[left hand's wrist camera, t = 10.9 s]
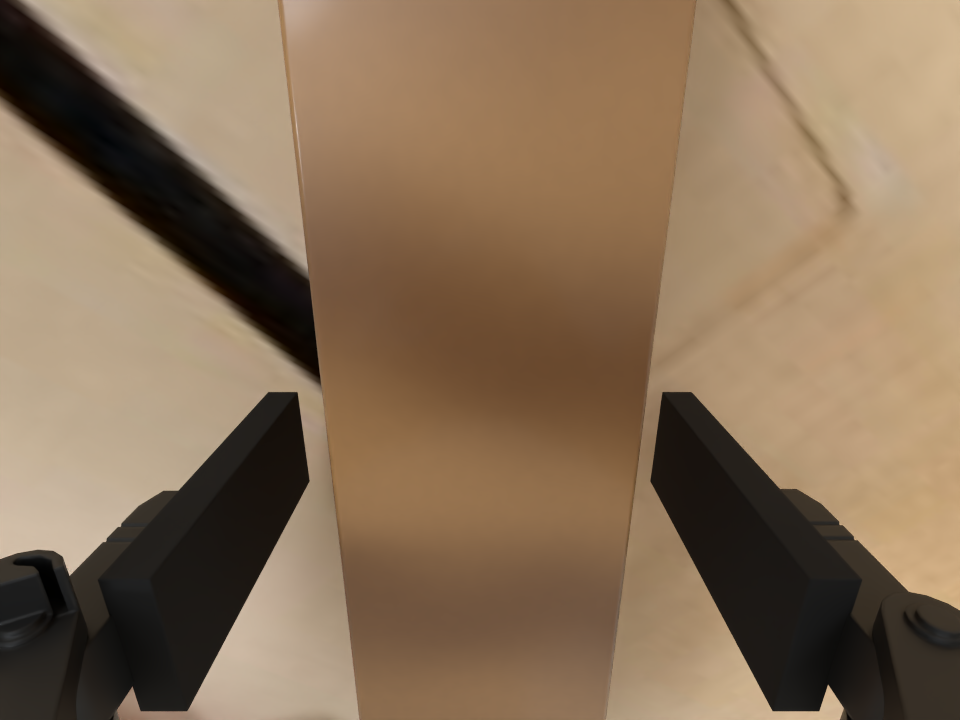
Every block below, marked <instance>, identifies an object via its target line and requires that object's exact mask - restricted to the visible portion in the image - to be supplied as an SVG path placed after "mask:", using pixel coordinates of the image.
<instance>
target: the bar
mask: <svg viewBox="0 0 960 720" xmlns="http://www.w3.org/2000/svg"><path fill="white" fill-rule="evenodd" d="M278 7H279V16H280V25H281V34H282V42H283V51H284V60H285V69H286V77H287V86H288V95H289V104H290V113H291V121H292V130H293V139H294V148H295V157H296V165H297V174H298V183H299V192H300V200H301V209H302V218H303V227H304V236H305V244H306V253H307V262H308V271H309V280H310V288H311V297H312V306H313V315H314V323H315V332H316V341H317V350H318V359H319V367H320V376H321V385H322V394H323V403H324V411H325V420H326V429H327V438H328V446H329V455H330V464H331V473H332V482H333V490H334V499H335V508H336V517H337V526H338V534H339V543H340V552H341V561H342V569H343V578H344V587H345V596H346V605H347V613H348V622H349V631H350V640H351V649H352V657H353V666H354V675H355V684H356V693H357V701H358V710H359V719H360V720H606V713H607V705H608V697H609V689H610V681H611V673H612V665H613V658H614V650H615V642H616V634H617V626H618V618H619V610H620V602H621V594H622V586H623V578H624V570H625V562H626V554H627V547H628V539H629V531H630V523H631V515H632V507H633V499H634V491H635V483H636V475H637V467H638V459H639V451H640V443H641V436H642V428H643V420H644V412H645V404H646V396H647V388H648V380H649V372H650V364H651V356H652V348H653V340H654V332H655V325H656V317H657V309H658V301H659V293H660V285H661V277H662V269H663V261H664V253H665V245H666V237H667V229H668V222H669V214H670V206H671V198H672V190H673V182H674V174H675V166H676V158H677V150H678V142H679V134H680V126H681V118H682V111H683V103H684V95H685V87H686V79H687V71H688V63H689V55H690V47H691V39H692V31H693V23H694V15H695V7H696V0H278Z"/></svg>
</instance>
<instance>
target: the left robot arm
mask: <svg viewBox="0 0 960 720" xmlns="http://www.w3.org/2000/svg"><path fill="white" fill-rule="evenodd" d="M308 483H309V474H308V466H307V459H306V452H305V444H304V437H303V430H302V422H301V415H300V407H299V400H298V393H297V392H268V393H267V394H266V396H265V397H264V398H263V399H262V400H261V401H260V402H259V403H258V404H257V405H256V406H255V408H254V409H253V410H252V411H251V412H250V413H249V414H248V415H247V416H246V417H245V419H244V420H243V421H242V422H241V423H240V424H239V425H238V426H237V427H236V428H235V429H234V431H233V432H232V433H231V434H230V435H229V436H228V437H227V438H226V439H225V440H224V442H223V443H222V444H221V445H220V446H219V447H218V448H217V449H216V450H215V451H214V453H213V454H212V455H211V456H210V457H209V458H208V459H207V460H206V461H205V462H204V463H203V465H202V466H201V467H200V468H199V469H198V470H197V471H196V472H195V473H194V474H193V476H192V477H191V478H190V479H189V480H188V481H187V482H186V483H185V484H184V485H183V487H182V488H181V489H180V490H179V491H163V492H161V493H159V494H158V495H156V496H154V497H153V498H151V499H149V500H148V501H146V502H145V503H143V504H141V505H140V506H138V507H137V508H136V509H135V510H134V511H133V512H132V513H131V514H130V515H129V516H128V517H127V518H126V520H125V521H124V522H123V523H122V524H121V527H118V528H117V529H116V530H115V531H114V532H113V533H112V534H111V535H110V536H109V537H108V538H107V541H106V542H103V543H102V544H101V545H100V546H99V547H98V548H97V549H96V550H95V551H94V552H93V553H92V554H91V555H90V556H89V557H88V558H87V559H86V560H85V561H84V562H83V563H82V564H81V565H80V566H79V567H78V568H77V569H76V570H75V571H74V572H73V573H72V574H71V575H70V576H69V574H68V571H67V568H66V565H65V562H64V559H63V557H62V556H61V555H59V554H57V553H56V552H54V551H46V550H34V551H28V552H22V553H17V554H14V555H11V556H8V557H5V558H2V559H0V720H120V719H119V716H118V713H117V709H118V707H119V706H120V704H121V703H122V701H123V700H124V698H125V697H126V695H127V694H128V692H129V691H130V689H131V688H132V686H133V689H134V692H135V695H136V698H137V701H138V704H139V707H140V710H141V711H188V709H189V707H190V705H191V703H192V701H193V699H194V698H195V696H196V694H197V692H198V690H199V688H200V686H201V684H202V683H203V681H204V679H205V677H206V675H207V673H208V671H209V669H210V667H211V666H212V664H213V662H214V660H215V658H216V656H217V654H218V652H219V651H220V649H221V647H222V645H223V643H224V641H225V639H226V637H227V635H228V634H229V632H230V630H231V628H232V626H233V624H234V622H235V620H236V619H237V617H238V615H239V613H240V611H241V609H242V607H243V605H244V604H245V602H246V600H247V598H248V596H249V594H250V592H251V590H252V588H253V587H254V585H255V583H256V581H257V579H258V577H259V575H260V573H261V572H262V570H263V568H264V566H265V564H266V562H267V560H268V558H269V556H270V555H271V553H272V551H273V549H274V547H275V545H276V543H277V541H278V540H279V538H280V536H281V534H282V532H283V530H284V528H285V526H286V524H287V523H288V521H289V519H290V517H291V515H292V513H293V511H294V509H295V508H296V506H297V504H298V502H299V500H300V498H301V496H302V494H303V492H304V491H305V489H306V487H307V485H308ZM651 483H652V485H653V487H654V489H655V491H656V492H657V494H658V496H659V498H660V500H661V502H662V504H663V506H664V508H665V509H666V511H667V513H668V515H669V517H670V519H671V521H672V523H673V524H674V526H675V528H676V530H677V532H678V534H679V536H680V538H681V540H682V541H683V543H684V545H685V547H686V549H687V551H688V553H689V555H690V556H691V558H692V560H693V562H694V564H695V566H696V568H697V570H698V571H699V573H700V575H701V577H702V579H703V581H704V583H705V585H706V587H707V588H708V590H709V592H710V594H711V596H712V598H713V600H714V602H715V603H716V605H717V607H718V609H719V611H720V613H721V615H722V617H723V619H724V620H725V622H726V624H727V626H728V628H729V630H730V632H731V634H732V635H733V637H734V639H735V641H736V643H737V645H738V647H739V649H740V651H741V652H742V654H743V656H744V658H745V660H746V662H747V664H748V666H749V667H750V669H751V671H752V673H753V675H754V677H755V679H756V681H757V683H758V684H759V686H760V688H761V690H762V692H763V694H764V696H765V698H766V699H767V701H768V703H769V705H770V707H771V709H772V711H819V710H820V707H821V704H822V701H823V698H824V695H825V692H826V689H827V686H828V685H829V686H830V688H831V689H832V691H833V692H834V694H835V695H836V697H837V698H838V700H839V701H840V703H841V704H842V706H843V707H844V710H843V713H842V716H841V718H840V720H960V610H958V609H956V608H954V607H953V606H951V605H949V604H947V603H945V602H942V601H939V600H937V599H934V598H932V597H929V596H927V595H922V594H916V593H911V592H908V591H907V590H906V589H905V588H904V587H903V586H902V585H901V584H900V583H899V582H898V581H897V580H896V579H895V578H894V577H893V576H892V575H891V574H890V573H889V572H888V571H887V570H886V569H885V568H884V567H883V566H882V565H881V564H880V563H879V562H878V561H877V559H876V558H875V557H874V556H873V555H872V554H871V553H870V552H869V551H868V550H867V549H866V548H865V547H864V546H863V545H862V544H861V543H860V542H859V541H858V540H854V536H853V535H852V534H851V533H850V532H849V531H848V530H847V529H846V528H845V527H844V526H843V525H839V521H838V520H837V519H836V518H835V517H834V516H833V515H832V514H831V513H830V512H829V511H828V510H827V509H826V508H825V507H824V506H823V505H822V504H820V503H819V502H817V501H815V500H814V499H812V498H811V497H809V496H807V495H806V494H804V493H802V492H801V491H799V490H797V489H779V488H778V486H777V485H776V484H775V483H774V482H773V481H772V480H771V479H770V478H769V477H768V476H767V474H766V473H765V472H764V471H763V470H762V469H761V468H760V467H759V466H758V465H757V463H756V462H755V461H754V460H753V459H752V458H751V457H750V456H749V455H748V454H747V453H746V451H745V450H744V449H743V448H742V447H741V446H740V445H739V444H738V443H737V442H736V440H735V439H734V438H733V437H732V436H731V435H730V434H729V433H728V432H727V431H726V429H725V428H724V427H723V426H722V425H721V424H720V423H719V422H718V421H717V420H716V419H715V417H714V416H713V415H712V414H711V413H710V412H709V411H708V410H707V409H706V408H705V406H704V405H703V404H702V403H701V402H700V401H699V400H698V399H697V398H696V397H695V396H694V394H693V393H692V392H663V393H662V400H661V407H660V415H659V422H658V430H657V437H656V444H655V452H654V459H653V467H652V474H651Z"/></svg>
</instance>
